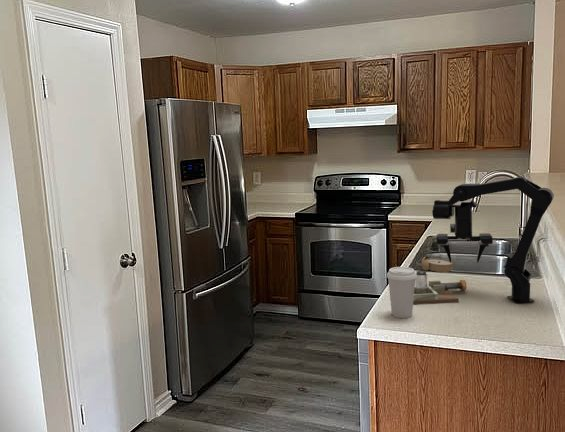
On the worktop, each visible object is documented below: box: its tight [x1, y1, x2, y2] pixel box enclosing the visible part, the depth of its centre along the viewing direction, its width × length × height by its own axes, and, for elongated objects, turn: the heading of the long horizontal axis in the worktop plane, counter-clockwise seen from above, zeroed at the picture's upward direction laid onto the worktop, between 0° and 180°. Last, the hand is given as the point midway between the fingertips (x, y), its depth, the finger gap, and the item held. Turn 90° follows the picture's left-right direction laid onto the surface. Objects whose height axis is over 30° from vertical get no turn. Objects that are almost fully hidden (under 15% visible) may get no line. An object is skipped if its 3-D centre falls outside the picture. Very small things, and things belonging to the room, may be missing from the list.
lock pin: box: [439, 279, 468, 292], centre depth 186 cm, size 4×9×4 cm, turn 91°
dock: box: [413, 280, 460, 306], centre depth 182 cm, size 14×16×4 cm
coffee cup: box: [386, 266, 417, 319], centre depth 165 cm, size 10×10×15 cm
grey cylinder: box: [415, 270, 428, 294], centre depth 179 cm, size 4×4×9 cm
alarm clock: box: [415, 256, 454, 273], centre depth 219 cm, size 11×5×15 cm
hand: (464, 262), depth 183 cm, fingers open, 9 cm apart
